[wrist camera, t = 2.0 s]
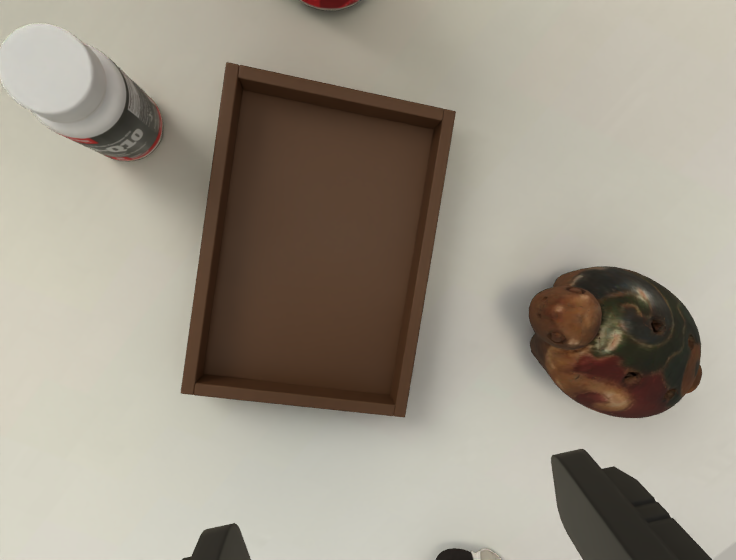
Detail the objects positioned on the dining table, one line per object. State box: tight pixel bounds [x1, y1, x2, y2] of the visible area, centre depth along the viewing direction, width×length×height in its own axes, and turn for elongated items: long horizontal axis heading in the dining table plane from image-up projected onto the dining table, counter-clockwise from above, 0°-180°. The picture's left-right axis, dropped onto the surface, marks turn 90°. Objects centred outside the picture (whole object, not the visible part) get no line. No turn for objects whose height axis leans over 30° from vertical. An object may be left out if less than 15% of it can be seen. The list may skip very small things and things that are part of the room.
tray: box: [181, 62, 456, 417], centre depth 28 cm, size 15×21×3 cm
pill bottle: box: [0, 23, 163, 161], centre depth 23 cm, size 5×5×8 cm
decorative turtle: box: [529, 266, 702, 418], centre depth 28 cm, size 10×15×8 cm, turn 71°
